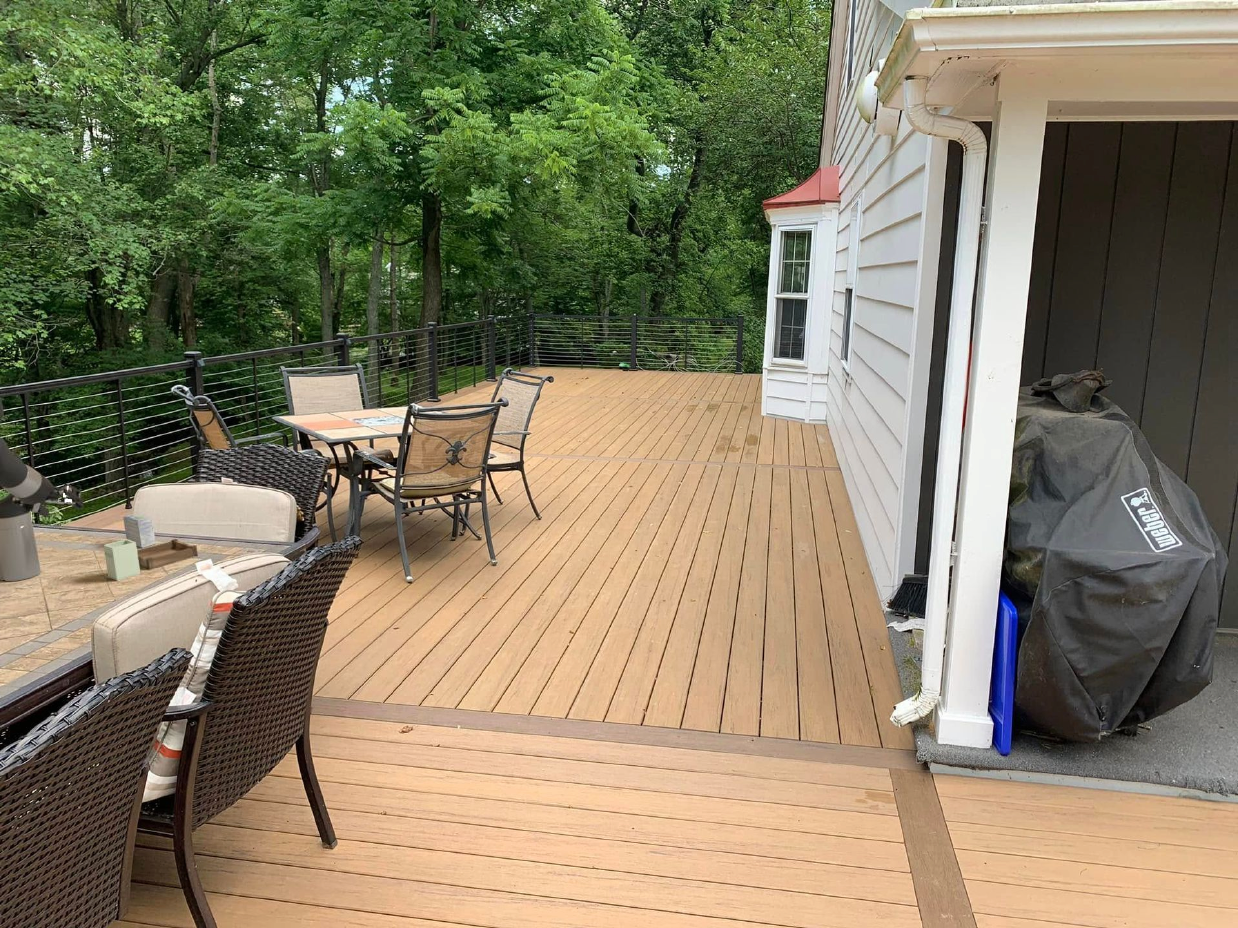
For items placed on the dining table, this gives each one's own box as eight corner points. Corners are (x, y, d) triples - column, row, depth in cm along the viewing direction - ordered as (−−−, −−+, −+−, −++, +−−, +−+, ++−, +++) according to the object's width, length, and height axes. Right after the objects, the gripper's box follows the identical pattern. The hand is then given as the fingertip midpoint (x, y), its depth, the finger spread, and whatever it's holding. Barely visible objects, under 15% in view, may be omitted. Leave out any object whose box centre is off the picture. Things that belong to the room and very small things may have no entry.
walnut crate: (129, 561, 250) (127, 551, 249) (176, 548, 260) (175, 538, 260) (149, 569, 243) (147, 559, 242) (197, 555, 254) (196, 545, 253)
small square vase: (107, 577, 238) (102, 545, 236) (132, 570, 243) (127, 538, 241) (116, 581, 235) (111, 548, 233) (141, 574, 240) (136, 542, 238)
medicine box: (156, 544, 265) (152, 516, 263) (141, 548, 261) (137, 520, 259) (141, 540, 269) (137, 512, 267) (126, 544, 266) (122, 516, 264)
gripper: (55, 463, 221) (92, 491, 235) (-4, 476, 220) (37, 503, 234) (54, 490, 217) (91, 516, 232) (-7, 503, 216) (35, 529, 231)
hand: (64, 510), depth 233 cm, fingers open, 8 cm apart
